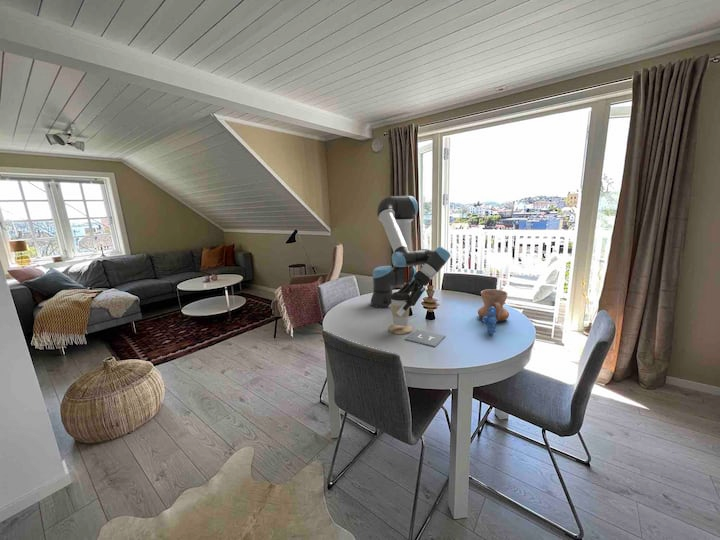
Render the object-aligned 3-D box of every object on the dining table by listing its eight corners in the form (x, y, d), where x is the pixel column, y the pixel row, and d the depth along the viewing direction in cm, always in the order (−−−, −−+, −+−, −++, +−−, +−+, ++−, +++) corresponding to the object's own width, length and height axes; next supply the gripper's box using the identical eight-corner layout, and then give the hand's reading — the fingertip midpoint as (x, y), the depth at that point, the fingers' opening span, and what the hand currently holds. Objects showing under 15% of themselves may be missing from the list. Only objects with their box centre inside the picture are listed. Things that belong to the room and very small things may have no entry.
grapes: (481, 326, 141) (482, 302, 138) (496, 328, 138) (498, 303, 136) (480, 336, 130) (482, 310, 128) (497, 338, 128) (499, 311, 125)
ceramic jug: (475, 312, 160) (476, 287, 157) (504, 313, 156) (505, 287, 154) (480, 325, 143) (481, 297, 140) (513, 326, 139) (514, 298, 136)
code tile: (404, 339, 129) (404, 338, 129) (416, 330, 139) (416, 329, 139) (435, 347, 121) (435, 346, 121) (445, 336, 131) (445, 335, 131)
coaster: (384, 331, 139) (384, 329, 139) (395, 323, 148) (395, 322, 148) (405, 336, 133) (405, 334, 133) (415, 328, 142) (415, 326, 142)
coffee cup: (395, 318, 146) (395, 289, 143) (413, 321, 141) (413, 291, 138) (388, 324, 138) (387, 294, 135) (406, 327, 134) (405, 296, 131)
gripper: (442, 284, 130) (409, 323, 129) (419, 275, 150) (390, 309, 149) (431, 274, 127) (398, 314, 126) (409, 266, 148) (380, 300, 147)
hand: (394, 311), depth 138 cm, fingers closed on coffee cup, 9 cm apart
